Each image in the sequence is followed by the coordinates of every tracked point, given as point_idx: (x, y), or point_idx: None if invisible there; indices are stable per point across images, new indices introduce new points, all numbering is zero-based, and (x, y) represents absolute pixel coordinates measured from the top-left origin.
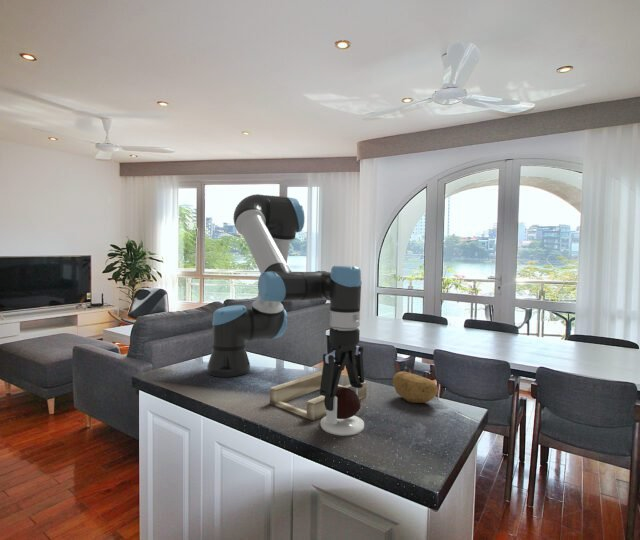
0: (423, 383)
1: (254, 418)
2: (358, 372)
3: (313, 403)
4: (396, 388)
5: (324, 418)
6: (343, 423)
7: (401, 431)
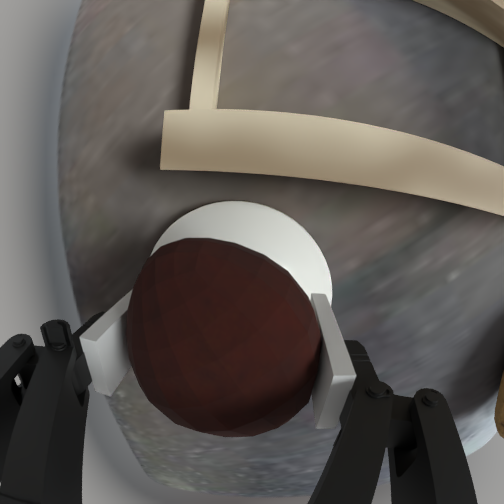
0: None
1: (89, 20)
2: (402, 490)
3: (160, 164)
4: None
5: (215, 213)
6: None
7: (320, 432)
